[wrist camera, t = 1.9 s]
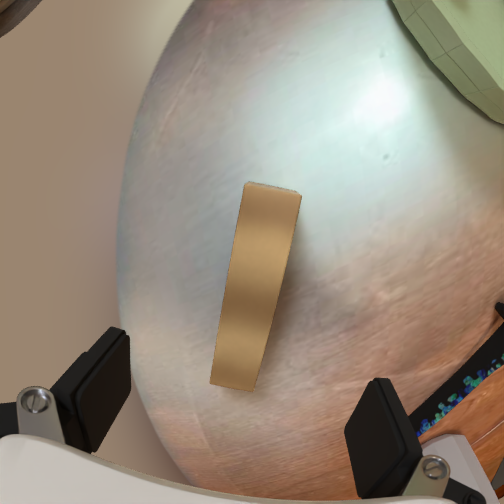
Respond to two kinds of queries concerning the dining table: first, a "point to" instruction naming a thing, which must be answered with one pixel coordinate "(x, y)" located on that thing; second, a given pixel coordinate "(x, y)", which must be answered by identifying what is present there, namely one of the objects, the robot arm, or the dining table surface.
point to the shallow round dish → (463, 45)
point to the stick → (253, 283)
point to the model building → (498, 477)
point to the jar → (461, 463)
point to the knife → (461, 381)
